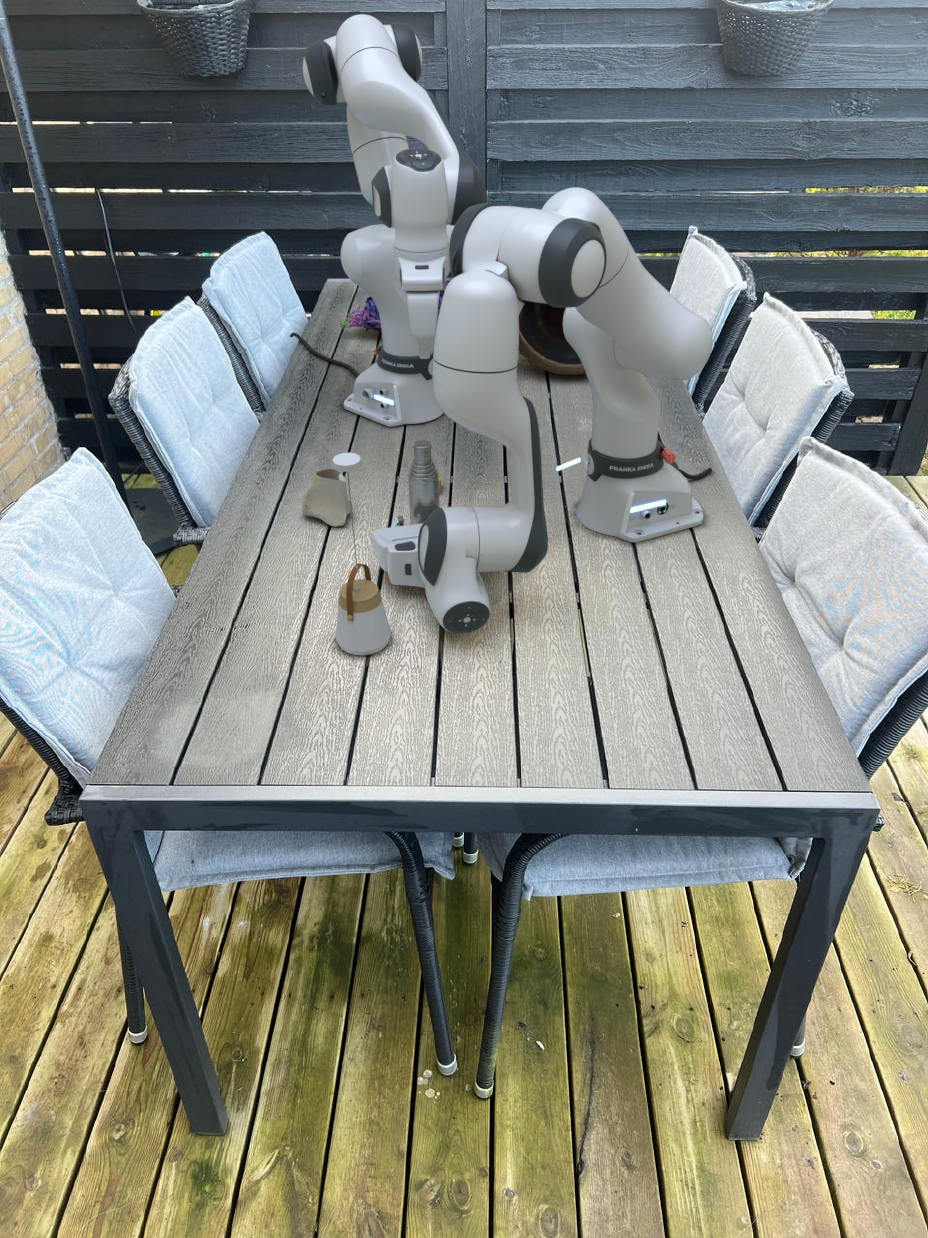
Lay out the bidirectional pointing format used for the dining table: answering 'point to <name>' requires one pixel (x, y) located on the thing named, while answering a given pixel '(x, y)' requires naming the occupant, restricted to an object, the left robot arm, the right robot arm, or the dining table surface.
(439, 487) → the cap
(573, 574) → the dining table surface
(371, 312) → the decorative ornament
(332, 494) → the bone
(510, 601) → the dining table surface
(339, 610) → the pendant light
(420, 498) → the bottle
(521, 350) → the pot
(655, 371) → the right robot arm
